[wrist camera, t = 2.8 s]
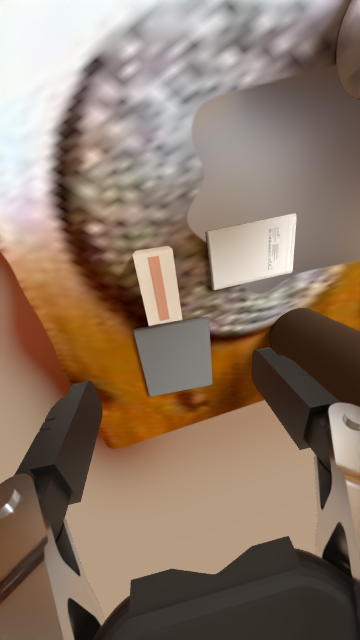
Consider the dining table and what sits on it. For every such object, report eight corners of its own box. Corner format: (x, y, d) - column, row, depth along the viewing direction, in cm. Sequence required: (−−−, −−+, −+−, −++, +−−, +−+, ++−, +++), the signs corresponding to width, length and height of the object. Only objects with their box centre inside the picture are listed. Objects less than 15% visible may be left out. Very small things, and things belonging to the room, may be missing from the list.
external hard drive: (204, 231, 27) (289, 213, 27) (211, 288, 30) (286, 271, 31) (207, 231, 25) (297, 212, 26) (214, 291, 29) (293, 273, 29)
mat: (133, 329, 31) (133, 331, 30) (207, 316, 31) (208, 318, 31) (150, 393, 37) (150, 396, 36) (211, 381, 38) (212, 384, 37)
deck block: (135, 250, 26) (132, 255, 21) (168, 245, 26) (172, 248, 22) (148, 311, 30) (148, 326, 25) (177, 306, 30) (182, 320, 26)
